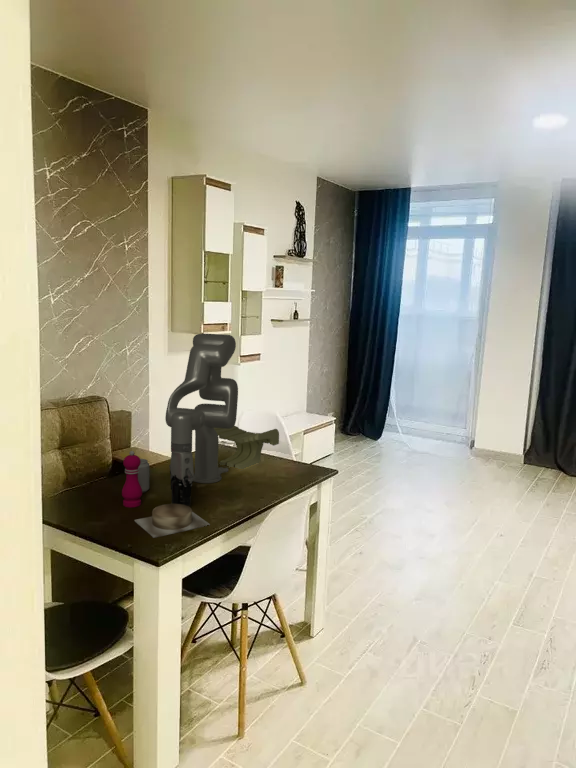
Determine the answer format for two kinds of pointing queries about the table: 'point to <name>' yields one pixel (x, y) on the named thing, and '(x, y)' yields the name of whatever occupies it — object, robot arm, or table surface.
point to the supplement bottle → (179, 492)
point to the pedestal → (171, 520)
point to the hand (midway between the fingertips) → (180, 493)
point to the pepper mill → (132, 481)
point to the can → (144, 475)
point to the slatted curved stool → (246, 445)
